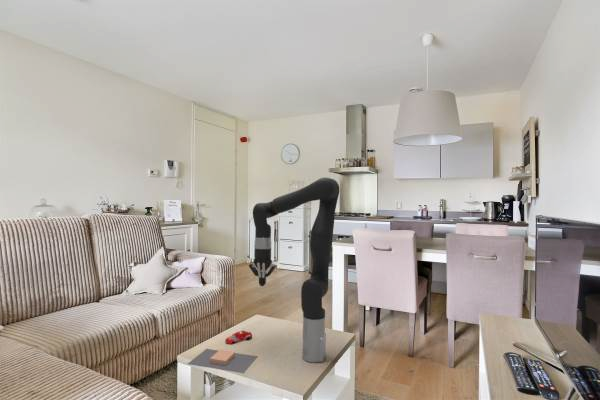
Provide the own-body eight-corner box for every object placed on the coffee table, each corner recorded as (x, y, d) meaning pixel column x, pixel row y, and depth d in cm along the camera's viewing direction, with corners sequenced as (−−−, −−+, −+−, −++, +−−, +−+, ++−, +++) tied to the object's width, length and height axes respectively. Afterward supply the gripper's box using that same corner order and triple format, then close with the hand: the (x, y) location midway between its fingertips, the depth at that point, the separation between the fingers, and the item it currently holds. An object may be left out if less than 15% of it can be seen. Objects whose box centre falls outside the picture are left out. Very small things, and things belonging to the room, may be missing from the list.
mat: (258, 357, 135) (258, 356, 135) (243, 374, 122) (243, 373, 122) (206, 350, 142) (206, 348, 142) (187, 365, 128) (187, 363, 128)
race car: (228, 347, 145) (228, 338, 145) (222, 343, 149) (223, 334, 149) (253, 339, 154) (254, 331, 154) (247, 336, 158) (247, 327, 158)
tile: (235, 352, 135) (219, 349, 137) (225, 360, 127) (209, 358, 129) (235, 356, 135) (219, 354, 137) (225, 365, 127) (209, 363, 129)
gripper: (279, 246, 149) (278, 284, 149) (252, 245, 153) (252, 282, 152) (273, 249, 142) (273, 289, 142) (245, 247, 145) (245, 286, 145)
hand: (262, 285), depth 147 cm, fingers closed
